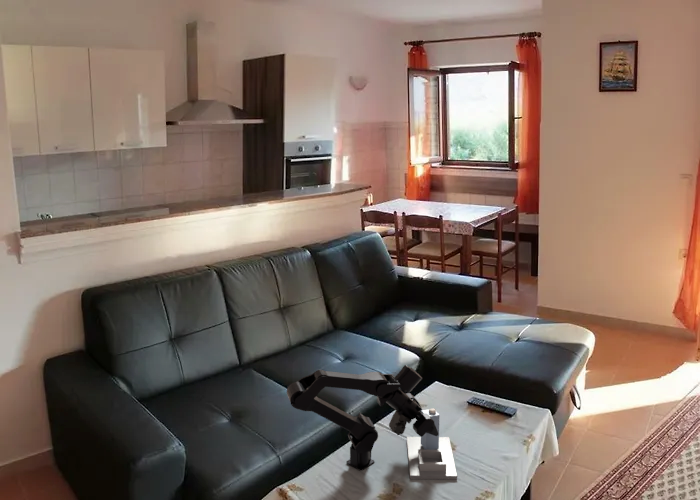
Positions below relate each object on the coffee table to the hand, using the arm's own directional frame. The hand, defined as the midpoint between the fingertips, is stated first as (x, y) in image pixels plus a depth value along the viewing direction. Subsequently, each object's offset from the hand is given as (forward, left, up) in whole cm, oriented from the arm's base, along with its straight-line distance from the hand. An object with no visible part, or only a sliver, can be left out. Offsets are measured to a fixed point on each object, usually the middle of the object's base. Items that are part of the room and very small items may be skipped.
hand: (431, 427), depth 209 cm
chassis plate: (-4, -3, -8) cm, 10 cm away
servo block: (-1, 0, -7) cm, 7 cm away
